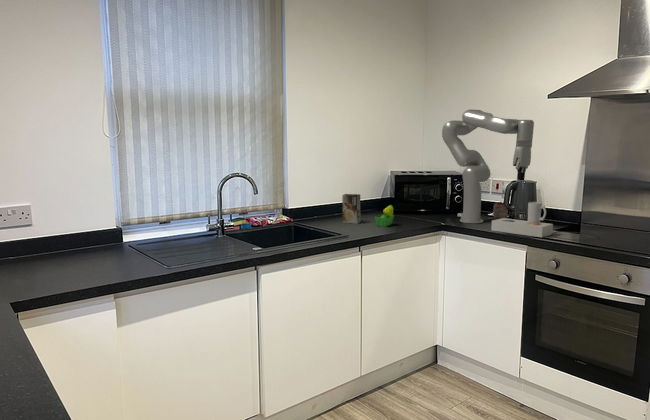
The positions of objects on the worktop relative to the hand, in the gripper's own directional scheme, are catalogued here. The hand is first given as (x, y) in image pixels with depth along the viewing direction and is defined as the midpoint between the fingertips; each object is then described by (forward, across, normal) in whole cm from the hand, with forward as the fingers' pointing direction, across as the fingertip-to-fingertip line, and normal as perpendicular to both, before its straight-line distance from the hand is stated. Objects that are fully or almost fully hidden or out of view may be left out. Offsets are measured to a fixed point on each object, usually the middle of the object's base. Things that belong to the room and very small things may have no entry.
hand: (520, 180), depth 254 cm
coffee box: (+29, +50, -72) cm, 92 cm away
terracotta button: (+24, +8, +14) cm, 29 cm away
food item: (+27, -23, -22) cm, 42 cm away
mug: (+26, -18, +2) cm, 31 cm away
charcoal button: (+25, +8, +1) cm, 27 cm away
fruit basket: (+28, +43, -53) cm, 74 cm away
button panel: (+25, +8, +7) cm, 27 cm away
